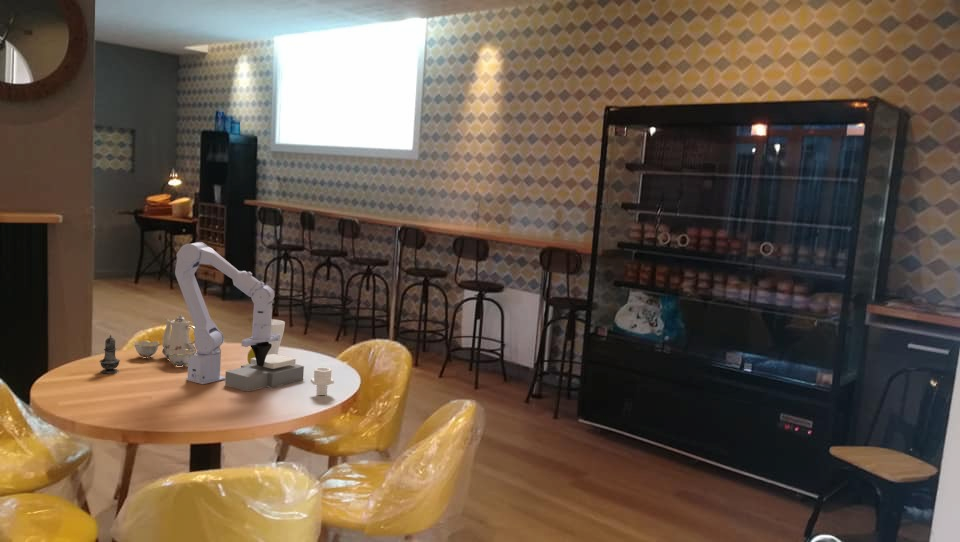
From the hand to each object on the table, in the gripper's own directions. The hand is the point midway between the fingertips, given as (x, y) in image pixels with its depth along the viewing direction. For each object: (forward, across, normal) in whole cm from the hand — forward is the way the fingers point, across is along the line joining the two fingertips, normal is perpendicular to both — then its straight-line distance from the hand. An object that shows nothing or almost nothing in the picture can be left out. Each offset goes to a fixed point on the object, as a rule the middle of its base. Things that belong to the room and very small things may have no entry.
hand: (260, 365), depth 227 cm
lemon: (+6, +12, +14) cm, 19 cm away
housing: (+6, +2, 0) cm, 6 cm away
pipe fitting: (+6, +4, -23) cm, 24 cm away
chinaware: (+6, -1, +42) cm, 42 cm away
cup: (+6, +26, +22) cm, 34 cm away
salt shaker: (+6, -24, +42) cm, 48 cm away
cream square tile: (0, +6, 0) cm, 6 cm away
